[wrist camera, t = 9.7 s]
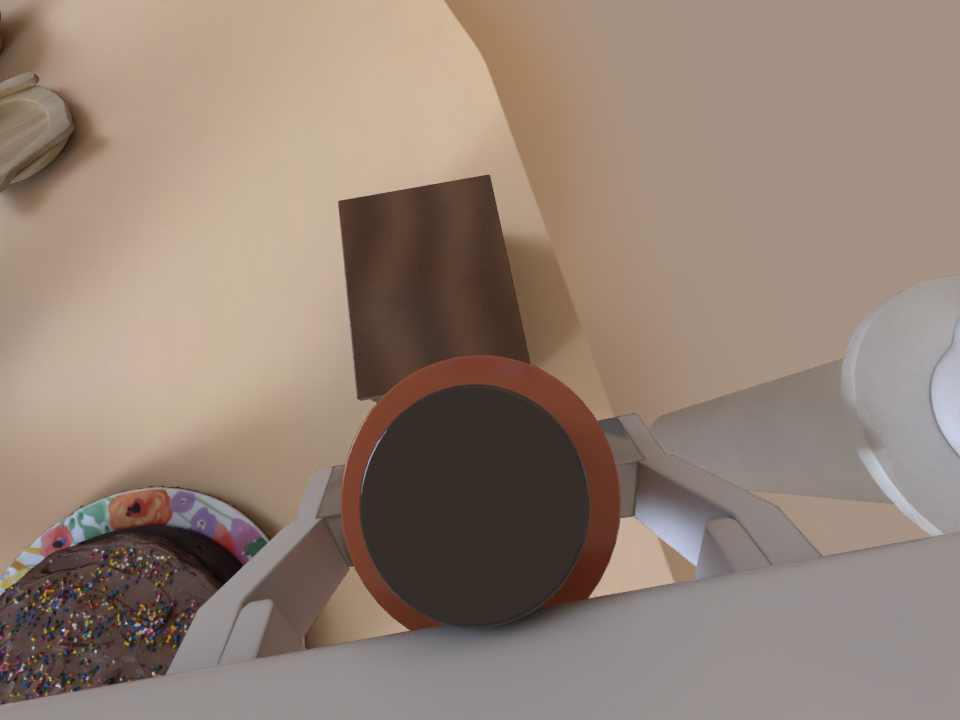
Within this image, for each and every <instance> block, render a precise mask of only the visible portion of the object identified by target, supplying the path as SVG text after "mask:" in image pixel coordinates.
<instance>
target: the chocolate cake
mask: <svg viewBox="0 0 960 720" xmlns="http://www.w3.org/2000/svg"><path fill="white" fill-rule="evenodd" d="M269 541H270V537H269V536H268V535H267V534H266V533H265V531H264V530H263V529H262V528H261V527H260V526H259V525H258V523H257V522H255V521H254V520H253V519H252V518H250V517H249V516H248V515H247V514H246V513H245V512H243V511H242V510H239V509H238V508H237V507H236V506H233V505H230V504H229V502H227V501H224V500H222V499H220V498H219V497H215V496H212V495H209V494H205V493H201V492H198V491H195V490H189V489H183V488H180V487H167V488H166V487H165V486H159V487H153V486H150V487H147V488H140V489H136V490H127V491H122V492H119V493H115V494H113V495H112V496H110V497H105V498H103V499H100V500H97V501H95V502H93V503H91V504H88V505H86V506H81V507H80V508H79V509H78V510H76V511H75V513H72V514H71V515H69V516H68V517H66V518H65V519H63V520H62V521H60V522H58V523H57V524H55V525H53V526H52V527H51V528H49V529H48V530H47V531H46V532H45V533H43V534H42V535H41V536H40V537H39V538H38V539H37V540H35V541H34V542H33V543H32V544H30V545H29V546H28V547H27V548H26V549H25V550H24V551H23V552H22V553H21V554H20V556H19V557H16V558H15V560H14V561H13V563H12V564H11V565H10V566H9V568H8V569H7V571H6V572H5V573H4V574H3V575H2V576H1V577H0V705H1V704H7V703H13V702H18V701H24V700H29V699H35V698H40V697H46V696H51V695H57V694H62V693H68V692H73V691H79V690H85V689H90V688H96V687H101V686H107V685H112V684H118V683H123V682H129V681H135V680H140V679H146V678H151V677H157V676H162V675H166V673H167V671H168V669H169V667H170V665H171V663H172V661H173V659H174V657H175V655H176V653H177V651H178V649H179V647H180V645H181V643H182V641H183V639H184V637H185V635H186V633H187V631H188V629H189V627H190V625H191V623H192V621H193V619H194V617H195V615H196V613H197V611H198V609H199V608H200V607H201V606H202V605H203V604H205V603H206V602H207V601H208V600H209V599H210V598H211V597H212V596H213V595H214V594H215V593H216V592H217V591H218V590H219V589H220V588H221V587H222V586H223V585H224V584H225V583H226V582H228V581H229V580H230V579H231V578H232V577H233V576H234V575H235V574H236V573H237V572H238V571H239V570H240V569H241V568H242V567H243V566H244V565H245V564H246V563H247V562H248V561H249V560H250V559H252V558H253V557H254V556H255V555H256V554H257V553H258V552H259V551H260V550H261V549H262V548H263V547H264V546H265V545H266V544H267V543H268V542H269ZM306 638H307V636H306V635H305V636H304V638H303V639H302V641H301V642H302V643H303V645H304V646H305V648H306V645H305V643H306Z"/></svg>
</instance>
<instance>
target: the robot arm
mask: <svg viewBox="0 0 960 720" xmlns="http://www.w3.org/2000/svg"><path fill="white" fill-rule="evenodd" d="M931 400H932V406H933V411H934V414H935V417H936V420H937V422H938V425H939V427H940V429H941V431H942V433H943V434H944V436H945V438H946V439H947V441H948V442H949V444H950V445H951V446H952V448H953V449H954V450H955V451H956V452H957V454H958V455H959V456H960V319H959V320H958V321H957V322H956V325H955V329H954V335H953V342H952V345H951V346H950V348H949V349H948V351H947V352H946V353H945V354H944V356H943V357H942V358H941V359H940V361H939V362H938V364H937V366H936V368H935V371H934V374H933V377H932V382H931ZM597 422H598V423H599V425H600V426H601V428H602V430H603V432H604V434H605V436H606V438H607V440H608V442H609V445H610V447H611V450H612V453H613V456H614V459H615V462H616V466H617V471H618V477H619V482H620V494H621V512H620V518H625V517H632V516H635V518H636V519H637V520H638V521H639V522H641V523H642V524H643V525H644V526H646V527H647V528H648V529H649V530H651V531H652V532H653V533H654V534H656V535H657V536H658V537H659V538H661V539H662V540H663V541H665V542H666V543H667V544H668V545H670V546H671V547H672V548H673V549H675V550H676V551H677V552H678V553H680V554H681V555H682V556H684V557H685V558H686V559H687V560H689V561H690V562H691V563H692V564H693V565H695V566H696V567H697V568H696V573H695V577H694V580H689V581H683V582H678V583H672V584H666V585H661V586H655V587H650V588H644V589H639V590H633V591H628V592H622V593H617V594H611V595H606V596H600V597H595V598H589V599H584V600H578V601H573V602H567V603H562V604H556V605H551V606H545V607H540V608H538V609H536V610H535V611H533V612H531V613H530V614H528V615H526V616H525V617H522V618H520V619H518V620H515V621H513V622H511V623H507V624H503V625H499V626H496V627H488V628H479V629H475V628H460V627H454V626H449V625H440V626H434V627H429V628H423V629H417V630H412V631H406V632H401V633H395V634H390V635H384V636H379V637H373V638H367V639H362V640H356V641H351V642H345V643H340V644H334V645H329V646H323V647H318V648H312V649H306V648H305V646H304V645H303V643H302V642H301V641H302V639H303V638H304V636H305V635H306V633H307V632H308V630H309V629H310V627H311V626H312V624H313V623H314V621H315V620H316V618H317V617H318V615H319V614H320V612H321V611H322V609H323V608H324V606H325V605H326V603H327V602H328V600H329V599H330V597H331V596H332V594H333V593H334V591H335V590H336V588H337V587H338V586H339V584H340V583H341V581H342V580H343V578H344V577H345V575H346V574H347V572H348V571H349V567H352V566H354V564H353V562H352V559H351V557H350V555H349V552H348V548H347V545H346V541H345V537H344V533H343V526H342V519H341V486H342V477H343V472H344V468H345V465H339V466H335V467H329V468H322V469H316V470H315V471H314V472H313V473H312V475H311V477H310V480H309V483H308V485H307V488H306V491H305V494H304V496H303V499H302V502H301V505H300V507H299V510H298V513H297V515H296V518H295V521H294V523H289V524H287V525H286V526H285V527H284V528H283V529H282V530H281V531H280V532H279V533H278V534H277V535H276V536H274V537H273V538H272V539H271V540H270V541H269V542H268V543H267V544H266V545H265V546H264V547H263V548H262V549H261V550H260V551H259V552H258V553H257V554H256V555H255V556H254V557H253V558H252V559H250V560H249V561H248V562H247V563H246V564H245V565H244V566H243V567H242V568H241V569H240V570H239V571H238V572H237V573H236V574H235V575H234V576H233V577H232V578H231V579H230V580H229V581H228V582H226V583H225V584H224V585H223V586H222V587H221V588H220V589H219V590H218V591H217V592H216V593H215V594H214V595H213V596H212V597H211V598H210V599H209V600H208V601H207V602H206V603H205V604H203V605H202V606H201V607H200V608H199V609H198V611H197V613H196V615H195V617H194V619H193V621H192V623H191V625H190V627H189V629H188V631H187V633H186V635H185V637H184V639H183V641H182V643H181V645H180V647H179V649H178V651H177V653H176V655H175V657H174V659H173V661H172V663H171V665H170V667H169V669H168V671H167V673H166V675H162V676H157V677H151V678H146V679H140V680H135V681H129V682H123V683H118V684H112V685H107V686H101V687H96V688H90V689H85V690H79V691H73V692H68V693H62V694H57V695H51V696H46V697H40V698H35V699H29V700H24V701H18V702H13V703H7V704H1V705H0V720H960V532H955V533H949V534H944V535H938V536H933V537H927V538H922V539H916V540H910V541H905V542H899V543H894V544H889V545H883V546H877V547H872V548H866V549H861V550H855V551H850V552H844V553H838V554H833V555H827V556H822V555H821V553H820V552H819V551H818V550H817V549H816V548H815V547H814V546H813V545H812V544H811V543H810V541H809V540H808V539H807V538H806V537H805V536H804V535H803V534H802V532H801V531H800V530H799V529H798V528H797V527H796V526H795V525H794V524H793V523H792V521H791V520H790V519H789V518H788V517H787V516H786V515H785V514H784V513H783V512H782V510H781V509H780V508H779V507H778V506H776V505H774V504H772V503H770V502H768V501H766V500H764V499H762V498H760V497H758V496H756V495H754V494H751V493H749V492H747V491H745V490H743V489H741V488H739V487H737V486H735V485H733V484H731V483H729V482H727V481H725V480H723V479H721V478H719V477H717V476H715V475H713V474H711V473H709V472H707V471H705V470H703V469H701V468H699V467H697V466H694V465H692V464H690V463H688V462H686V461H684V460H682V459H680V458H678V457H676V456H674V455H671V456H667V455H666V453H665V452H664V451H663V449H662V448H661V446H660V445H659V444H658V442H657V441H656V440H655V438H654V437H653V435H652V434H651V433H650V431H649V430H648V429H647V427H646V426H645V424H644V423H643V422H642V420H641V419H640V417H639V416H638V415H636V414H635V413H633V414H627V415H622V416H617V417H615V418H608V419H603V420H598V421H597Z"/></svg>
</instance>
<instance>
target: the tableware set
mask: <svg viewBox="0 0 960 720" xmlns="http://www.w3.org/2000/svg"><path fill="white" fill-rule="evenodd" d="M0 22H1V12H0ZM2 46H3V38H2V36H1V34H0V51H1V49H2ZM38 82H39V77H38V76H37V75H36V74H35V73H33V72H32V71H30V72H25V73H22V74H20V75H17V76H15V77H12V78H10V79H7V80H5V81H3V82H0V192H1V191H2V190H4V189H5V188H7V187H8V186H9V185H10V184H12V183H16V182H19V181H21V180H24V179H26V178H28V177H30V176H32V175H34V174H36V173H37V172H39V171H40V170H42V169H43V168H44V167H45V166H47V165H48V164H49V163H51V162H52V161H53V160H54V159H55V158H56V156H57V155H58V154H59V153H60V152H61V150H62V149H63V147H64V146H65V144H66V142H67V140H68V138H69V136H70V134H71V133H72V132H73V131H74V129H75V126H74V124H73V123H72V114H71V111H70V108H69V106H68V104H67V103H66V102H65V101H64V100H63V99H62V98H61V97H60V96H59V95H58V94H56V93H55V92H53V91H51V90H49V89H47V88H44V87H40V86H35V84H37V83H38Z"/></svg>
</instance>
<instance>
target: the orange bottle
mask: <svg viewBox="0 0 960 720" xmlns="http://www.w3.org/2000/svg"><path fill="white" fill-rule="evenodd" d="M620 512H621V494H620V482H619V477H618V471H617V466H616V462H615V459H614V456H613V453H612V450H611V447H610V445H609V442H608V440H607V438H606V436H605V434H604V432H603V430H602V428H601V426H600V425H599V423H598V422H597V420H596V418H595V417H594V415H593V414H592V412H591V411H590V410H589V409H588V407H587V406H586V405H585V404H584V403H583V401H582V400H581V399H580V398H579V397H578V396H577V395H576V394H575V393H574V392H573V391H572V390H571V389H570V388H568V387H567V386H566V385H564V384H563V383H562V382H560V381H559V380H558V379H556V378H555V377H553V376H552V375H550V374H548V373H546V372H545V371H543V370H541V369H539V368H537V367H534V366H532V365H530V364H527V363H525V362H521V361H518V360H514V359H511V358H506V357H499V356H492V355H470V356H461V357H455V358H451V359H447V360H442V361H439V362H437V363H434V364H431V365H429V366H426V367H424V368H422V369H420V370H418V371H416V372H414V373H413V374H411V375H409V376H408V377H406V378H405V379H403V380H402V381H400V382H399V383H398V384H396V385H395V386H394V387H393V388H392V389H391V390H390V391H388V392H387V393H386V394H385V395H384V396H383V397H382V398H381V399H380V400H379V402H378V403H377V404H376V405H375V406H374V407H373V408H372V410H371V411H370V413H369V414H368V416H367V417H366V418H365V420H364V421H363V423H362V424H361V426H360V428H359V430H358V432H357V434H356V436H355V438H354V440H353V443H352V445H351V448H350V451H349V453H348V456H347V459H346V464H345V468H344V472H343V477H342V486H341V519H342V526H343V533H344V537H345V541H346V545H347V548H348V552H349V555H350V557H351V559H352V562H353V564H354V567H355V569H356V571H357V573H358V575H359V576H360V578H361V580H362V582H363V583H364V585H365V587H366V588H367V590H368V591H369V592H370V593H371V595H372V596H373V597H374V599H375V600H376V601H377V603H378V604H379V605H380V606H381V607H382V608H383V609H384V610H385V611H386V612H387V613H388V614H389V615H390V616H391V617H393V618H394V619H395V620H397V621H398V622H399V623H401V624H402V625H403V626H405V627H406V628H407V629H409V630H411V631H412V630H417V629H423V628H429V627H434V626H440V625H449V626H454V627H460V628H475V629H479V628H488V627H496V626H499V625H503V624H507V623H511V622H513V621H515V620H518V619H520V618H522V617H525V616H526V615H528V614H530V613H531V612H533V611H535V610H536V609H538V608H540V607H545V606H551V605H556V604H562V603H567V602H573V601H578V600H584V599H588V598H589V596H590V595H591V593H592V592H593V590H594V589H595V587H596V586H597V585H598V583H599V582H600V580H601V578H602V576H603V574H604V572H605V570H606V568H607V566H608V564H609V562H610V559H611V556H612V553H613V550H614V547H615V544H616V540H617V535H618V530H619V525H620Z"/></svg>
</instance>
